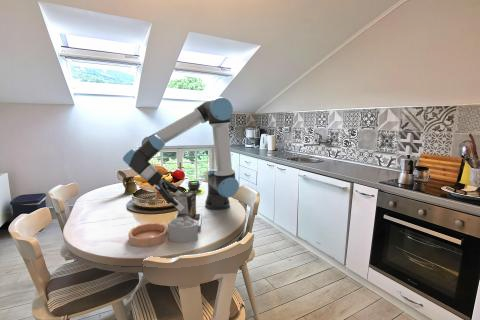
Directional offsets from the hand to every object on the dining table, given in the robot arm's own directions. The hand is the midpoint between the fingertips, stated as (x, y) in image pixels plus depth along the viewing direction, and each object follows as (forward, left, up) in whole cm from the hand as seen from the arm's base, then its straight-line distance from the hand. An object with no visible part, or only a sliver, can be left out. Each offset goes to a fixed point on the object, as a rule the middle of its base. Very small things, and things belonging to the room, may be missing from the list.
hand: (184, 204), depth 125 cm
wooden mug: (+45, -56, -11) cm, 72 cm away
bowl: (+15, +13, -11) cm, 22 cm away
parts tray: (-1, 0, -11) cm, 11 cm away
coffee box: (-1, 0, -11) cm, 11 cm away
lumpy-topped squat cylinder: (-1, +14, -11) cm, 18 cm away
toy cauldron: (-1, -58, -11) cm, 59 cm away
